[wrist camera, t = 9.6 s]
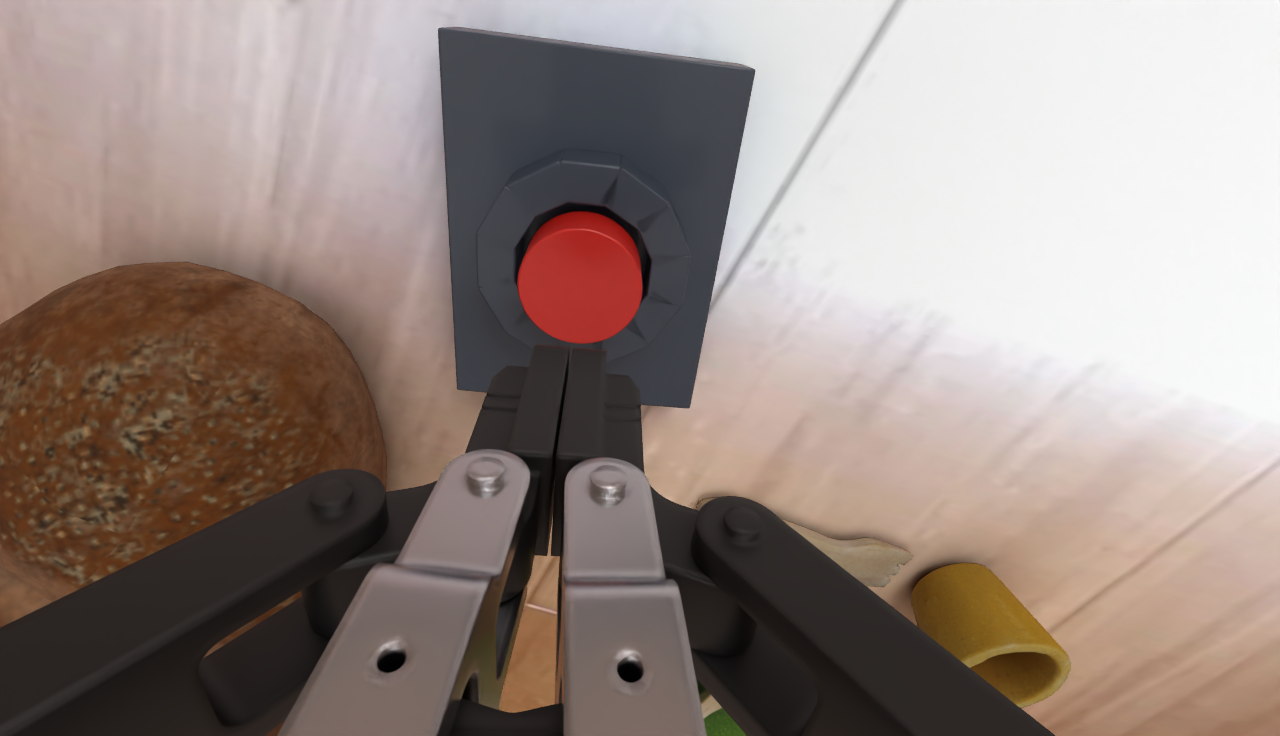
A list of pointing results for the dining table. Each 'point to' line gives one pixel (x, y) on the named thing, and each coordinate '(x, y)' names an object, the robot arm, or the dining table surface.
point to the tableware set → (947, 623)
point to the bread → (161, 420)
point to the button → (581, 278)
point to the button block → (586, 190)
